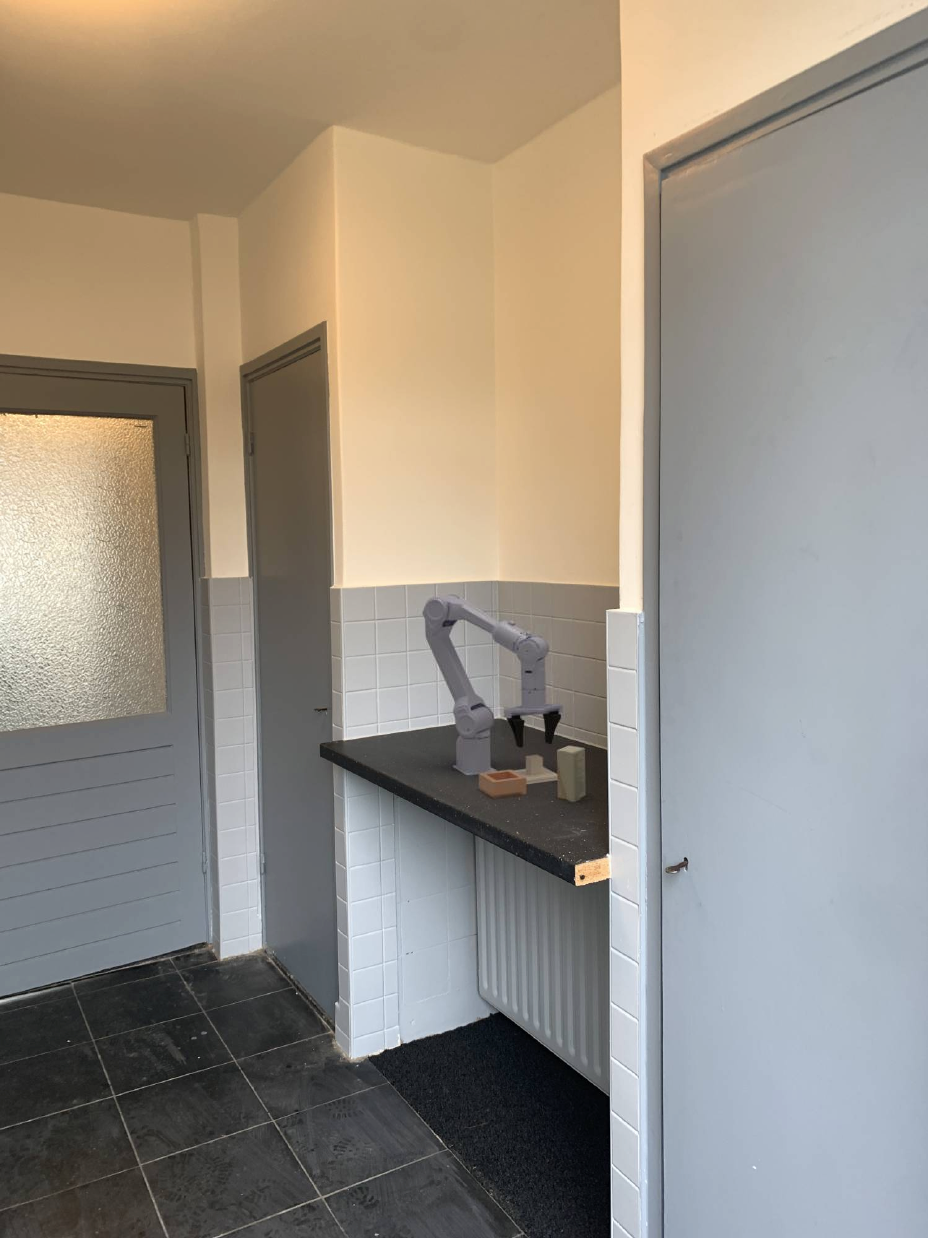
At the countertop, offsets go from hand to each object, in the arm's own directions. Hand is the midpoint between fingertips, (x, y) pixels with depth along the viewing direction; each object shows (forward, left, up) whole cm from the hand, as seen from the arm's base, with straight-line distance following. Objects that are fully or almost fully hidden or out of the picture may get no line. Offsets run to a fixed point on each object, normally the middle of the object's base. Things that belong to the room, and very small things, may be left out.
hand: (534, 745), depth 213 cm
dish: (+8, -12, -8) cm, 17 cm away
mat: (0, 0, -8) cm, 8 cm away
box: (+18, 0, -8) cm, 20 cm away
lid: (0, 0, -8) cm, 8 cm away
